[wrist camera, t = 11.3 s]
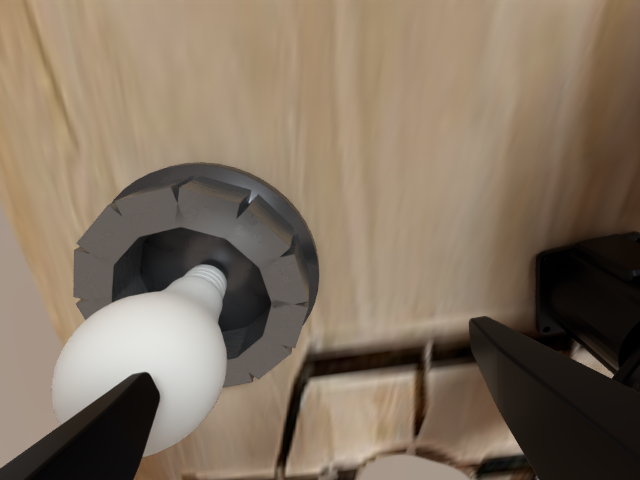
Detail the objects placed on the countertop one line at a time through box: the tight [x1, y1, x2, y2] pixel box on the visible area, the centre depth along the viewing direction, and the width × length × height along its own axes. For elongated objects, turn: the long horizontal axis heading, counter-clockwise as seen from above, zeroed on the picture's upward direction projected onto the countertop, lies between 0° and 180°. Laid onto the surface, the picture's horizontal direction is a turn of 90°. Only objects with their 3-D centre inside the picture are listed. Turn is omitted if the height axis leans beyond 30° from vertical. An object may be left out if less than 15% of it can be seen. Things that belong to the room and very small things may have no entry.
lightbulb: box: [51, 265, 227, 457], centre depth 15 cm, size 6×6×11 cm
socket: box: [74, 163, 319, 388], centre depth 20 cm, size 14×14×4 cm
